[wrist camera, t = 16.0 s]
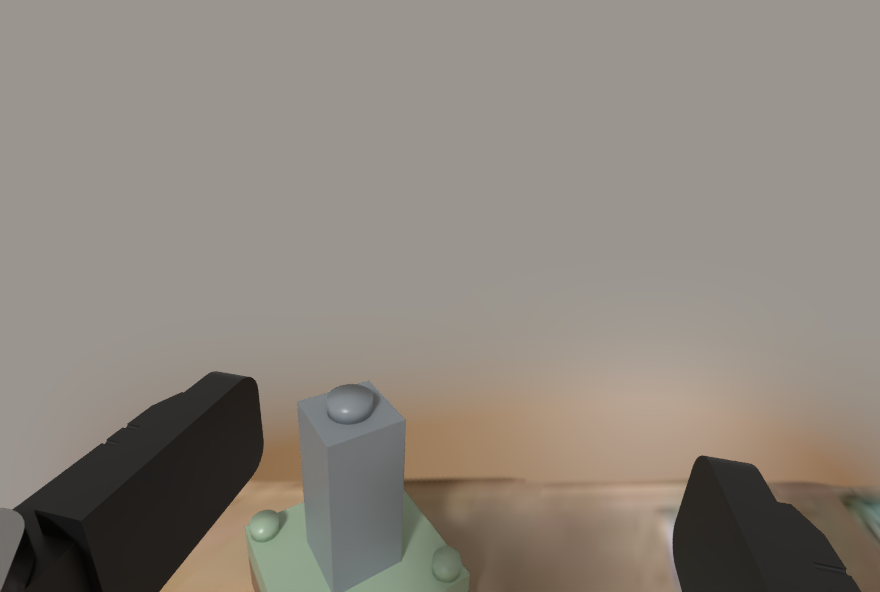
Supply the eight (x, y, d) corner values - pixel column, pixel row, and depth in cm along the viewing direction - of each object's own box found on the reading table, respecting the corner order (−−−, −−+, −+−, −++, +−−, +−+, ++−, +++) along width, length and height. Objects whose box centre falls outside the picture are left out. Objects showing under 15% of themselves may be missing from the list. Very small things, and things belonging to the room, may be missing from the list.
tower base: (386, 519, 44) (387, 458, 41) (464, 632, 35) (471, 564, 32) (252, 582, 38) (243, 516, 35) (304, 741, 29) (297, 667, 26)
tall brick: (369, 512, 37) (368, 368, 32) (401, 561, 33) (406, 405, 29) (307, 541, 35) (296, 388, 30) (333, 597, 31) (326, 432, 26)
